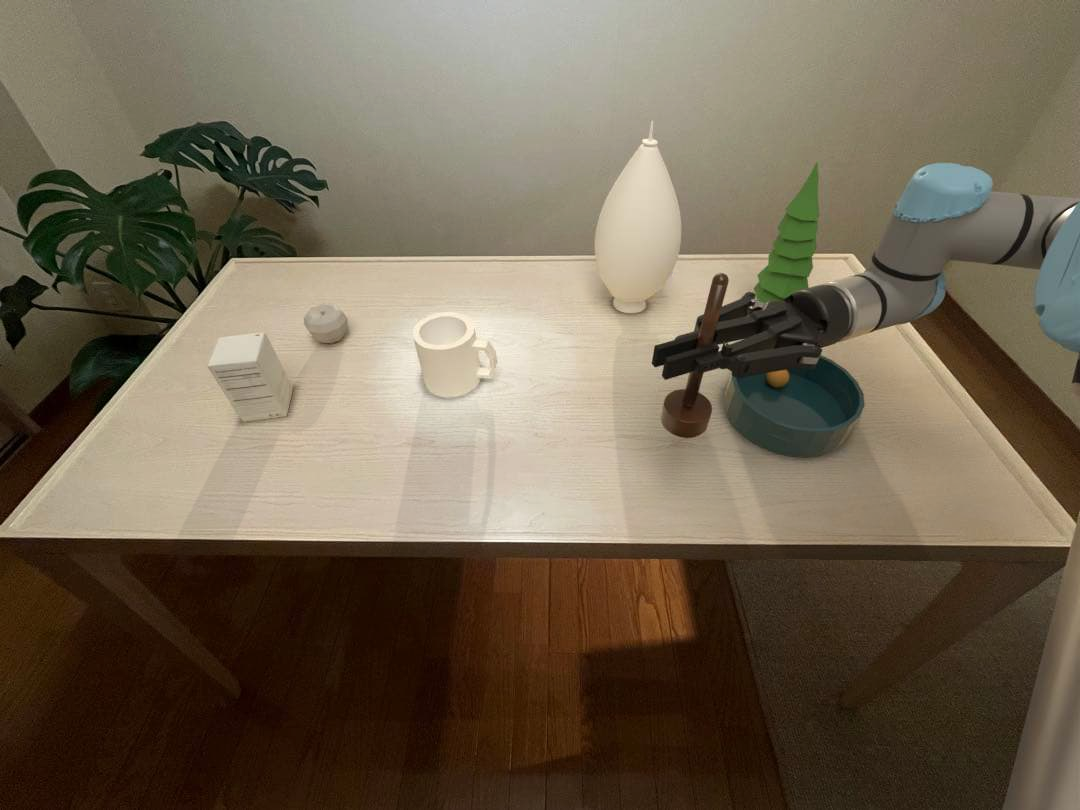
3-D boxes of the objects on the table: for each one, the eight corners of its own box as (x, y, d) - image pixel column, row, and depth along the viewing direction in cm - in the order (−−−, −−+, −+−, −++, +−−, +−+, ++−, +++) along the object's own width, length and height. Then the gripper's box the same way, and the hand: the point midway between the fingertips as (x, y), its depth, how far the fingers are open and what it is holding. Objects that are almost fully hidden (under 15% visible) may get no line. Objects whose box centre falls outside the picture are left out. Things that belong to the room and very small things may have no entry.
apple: (309, 353, 99) (297, 326, 94) (312, 329, 104) (301, 301, 100) (353, 347, 100) (343, 319, 95) (353, 323, 105) (344, 295, 101)
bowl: (876, 436, 82) (894, 409, 78) (773, 473, 77) (786, 447, 73) (793, 361, 95) (804, 335, 90) (700, 389, 90) (707, 363, 86)
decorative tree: (743, 302, 108) (790, 150, 86) (790, 304, 107) (849, 151, 86) (752, 331, 101) (805, 174, 80) (802, 333, 100) (870, 175, 79)
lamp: (586, 284, 114) (595, 106, 89) (659, 281, 114) (688, 103, 89) (596, 329, 102) (609, 139, 78) (676, 325, 103) (715, 135, 78)
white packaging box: (251, 392, 92) (217, 335, 83) (294, 387, 92) (266, 330, 83) (241, 423, 86) (204, 366, 77) (287, 417, 87) (256, 360, 78)
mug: (504, 363, 96) (500, 315, 88) (492, 402, 89) (486, 354, 81) (433, 356, 98) (423, 309, 90) (416, 394, 90) (403, 346, 83)
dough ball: (790, 388, 89) (797, 372, 86) (772, 394, 88) (779, 378, 85) (776, 375, 91) (782, 359, 88) (758, 380, 90) (765, 365, 87)
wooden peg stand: (716, 430, 67) (765, 282, 52) (676, 443, 66) (714, 296, 50) (690, 400, 71) (729, 254, 55) (652, 412, 70) (680, 266, 54)
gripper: (859, 373, 62) (689, 429, 56) (778, 307, 72) (625, 350, 66) (888, 322, 57) (703, 379, 51) (796, 258, 66) (632, 300, 61)
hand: (660, 362), depth 59 cm, fingers closed on wooden peg stand, 2 cm apart
